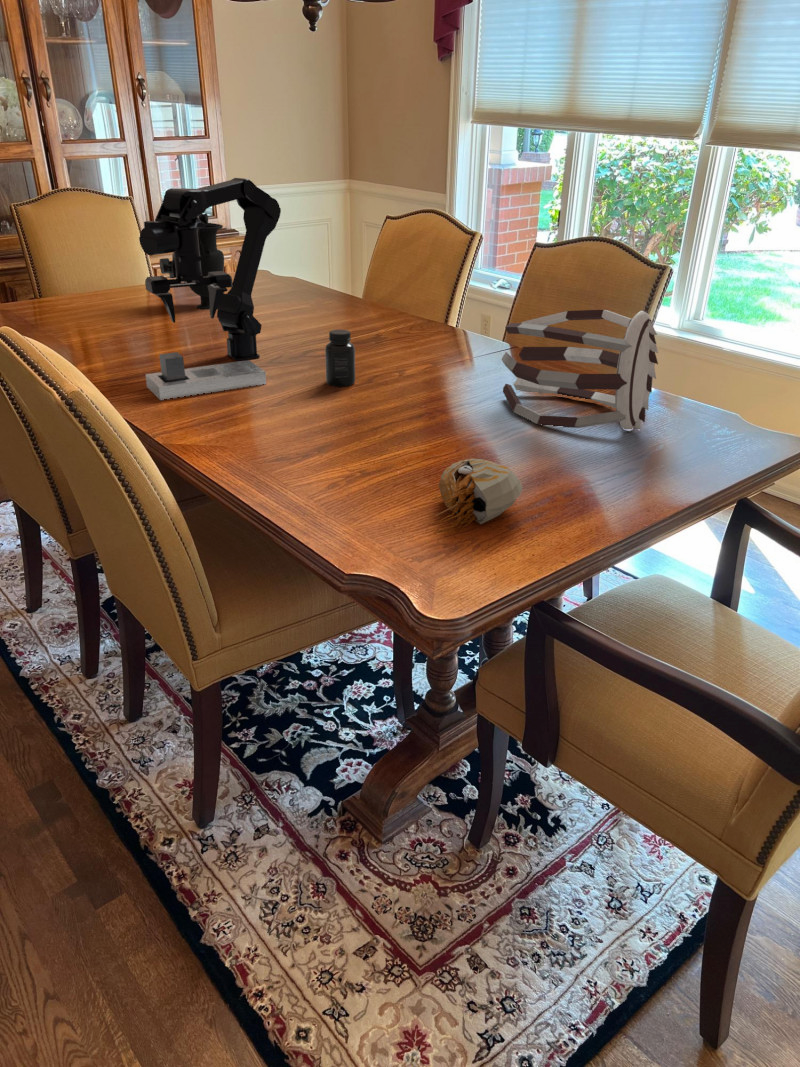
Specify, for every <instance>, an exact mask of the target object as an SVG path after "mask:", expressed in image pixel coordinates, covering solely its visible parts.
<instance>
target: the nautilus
mask: <svg viewBox="0 0 800 1067" xmlns="http://www.w3.org/2000/svg"><path fill="white" fill-rule="evenodd" d="M438 487H439V488H438V490H439V492H440V496H438V497H435V498H433V499H432V501H434V500H438V499H442V500H443V501H440V502H439V503H437V505H440V504H442V503H444V504H445V506H446V507H447V509H445V510H443V511H441V512H439V513H437V514H435V515H434V517H436V516H439V515H441V514H442V513H445V512H447V511H451V512H452V513H451V514H448V515H447V516H445V517H444V518H443V517H442V519H440V520H438V521H434V522H432V523H431V522H430V523H428V524H427V526H431V525H432V526H435V525H439V524H443V523H445V522H448V521H450V520H452V519H454V518H457V519H456V520H453V521H451V522H449V523H447V524H445V525H441V526H439V527H437V529H442V528H444V527H446V528H444V529H445V530H439V531H438V532H435V533H434V535H438V534H441V533H443V532H445V531H448V530H447V529H449V528H451V529H449V531H448V532H447V534H446V536H449V535H450V533H451V532H452V530H454V529H453V528H454V527H457V526H459V527H458V528H460V527H463V528H464V527H466V526H468V525H470V523H472V522H473V521H475V522H477V523H479V524H480V525H482V524H485V523H486V522H489V521H491V520H493V519H495V518H497V517H498V516H499V517H500V516H501V515H502V514H503V513H504V512H505V511H506V510H507V509H509V508H510V507H512V506H513V505H514V503H515V501H516V500H517V498H518V497H519V496H521V494H522V492H523V484H522V482H521V480H520V479H519V478H518V476H517V474H516V473H515V472H513V470H511V469H510V468H509V467H508V466H505V465H502V464H499V463H497V462H494V461H491V460H487V459H481V458H467V459H461V460H459V461H457V462H454V463H452V464H451V465H450V466H448V467H446V468H445V469H444V470H443V471H442V474H441V477H440V480H439V481H438ZM455 514H456V515H455ZM451 524H452V525H451ZM463 524H465V525H463ZM449 525H450V526H449ZM461 525H463V526H461ZM447 526H448V527H447Z"/></svg>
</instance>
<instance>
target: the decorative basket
mask: <svg viewBox="0 0 800 1067" xmlns="http://www.w3.org/2000/svg"><path fill="white" fill-rule="evenodd" d="M587 320H590V321H591V320H606V321H609V322H612V323H614V324H616V325H617V324H618V325H619V326H621V327H625V328H627V329H626V330H625V333H624V336H623V338H618V337H613V336H607V335H603V334H598V333H597V334H596V333H591V332H585V331H580V330H574V329H568V328H563V327H562V328H561V327H555V326H551V325H555V324H559V323H563V322H567V321H587ZM652 321H653V320H652V318H651V316H650V315H649V313H647V312H646V311H644V310H640V311H639V312H637V313H636V314H635V315H634V316H633V318H630V317H627V316H624V315H621V314H619V313H617V312H613V311H611V310H607V309H586V310H585V309H584V310H583V309H582V310H580V309H579V310H566V311H562V312H557V313H552V314H549V315H545V316H541V317H537V318H533V319H528V320H524V321H521V322H510V323H508V325H506V326H504V327H505V330H506V332H507V334H510V335H511V334H513V335H522V336H523V335H524V336H530V337H531V336H532V337H537V338H538V337H539V338H546V339H551V340H558V341H564V342H569V343H576V344H580V345H586V346H587V345H588V346H592V347H597V348H602V349H597V348H587V347H576V346H575V347H574V346H573V347H572V346H522V348H521V350H520V352H519V354H518V356H519V358H520V360H521V361H524V362H525V361H527V362H529V361H535V362H537V361H539V362H541V361H542V362H545V361H546V362H547V361H549V362H551V361H552V362H553V361H558V362H559V361H561V362H563V361H565V362H567V361H568V362H578V363H586V364H587V363H589V364H599V365H603V366H608V367H612V368H614V369H616V373H575V372H565V371H556V370H554V371H553V370H546V369H540V368H536V367H533V366H530V365H527V364H523V363H520V362H517V361H516V360H515V359H514V358H513V356H511V355H510V354H509V353H508V352H507V351H505V353H504V354H503V355H502V357H501V361H502V363H503V364H504V366H505V367H506V368H507V369H508V370H509V371H510V373H512V374H513V376H515V378H517V379H516V380H515V381H514V383H513V384H512V385H513V386H514V388H513V386H512V385H511V384H508V383H505V384H504V386H503V387H502V393H503V395H504V397H505V398H506V400H507V402H508V404H509V406H510V408H511V410H512V412H513V413H515V414H517V415H519V416H520V415H521V417H522V416H523V417H522V418H524V417H525V418H524V419H526V418H527V419H526V420H528V419H529V420H528V421H530V420H531V421H530V422H532V423H534V424H536V425H538V424H542V425H553V426H552V427H555V426H563V427H562V428H573V429H575V428H576V429H581V428H587V427H593V426H599V425H605V424H611V423H619V425H620V428H624V429H632V428H634V429H636V430H637V429H640V430H641V422H643V423H645V422H646V421H645V420H646V410H647V411H649V401H650V399H649V398H650V395H651V394H652V388H653V380H654V379H657V376H656V368H655V364H656V365H659V362H658V358H657V355H656V354H659V350H658V348H657V340H656V338H655V336H658V333H657V332H656V330H655V328H654V324H653V322H652ZM605 349H608V350H605ZM609 350H614V351H618V352H619V353H615V352H613V351H609ZM515 390H516V391H519V392H526V393H530V392H538V393H554V394H562V395H567V396H573V397H579V398H585V399H591V400H594V401H597V402H600V403H603V404H605V405H608V406H611V407H613V408H616V409H615V411H610V412H609V411H608V412H603V413H596V414H591V415H590V414H589V415H586V416H585V415H584V416H577V417H576V416H559V415H558V416H557V415H556V416H555V415H543V414H541V413H539V412H537V411H535V410H533V409H530V408H529V407H527V406H524V405H523V404H522V403H521V401H520V399H519V397H518V395H517V393H516V392H515ZM593 390H615V391H614V392H615V394H614V395H613V394H607V393H604V392H603V393H602V392H599V391H593Z"/></svg>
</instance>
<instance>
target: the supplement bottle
mask: <svg viewBox="0 0 800 1067" xmlns="http://www.w3.org/2000/svg"><path fill="white" fill-rule="evenodd" d="M328 335H329V337H328V341H329V342H328V343H327V344H326V346H325V348H324V352H325V353H324V354H325V381H326V384H327V385H329V386H331V387H337V388H344V387H351V386H352V385H354V384H355V382H356V349H355V348H356V347H355V344H354V343H352V342H350V341H351V340H352V339H351V331H350V330H348V329H332V330H329V334H328Z"/></svg>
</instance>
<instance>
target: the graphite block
mask: <svg viewBox="0 0 800 1067" xmlns="http://www.w3.org/2000/svg"><path fill="white" fill-rule="evenodd" d="M158 356H159V361H160V362H159V364H160V370H161V371H160V372H162V381H164V382H165V383H167V382H174V381H181V380H186V379H185V369H186V368H185V362H184V356H183V355H182V354H180V353H179V352H177V351H176V352H169V353H168V352H167V353H159V355H158Z"/></svg>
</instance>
